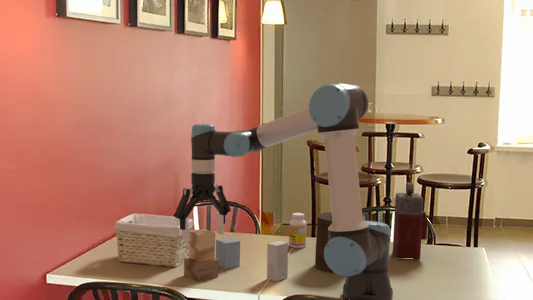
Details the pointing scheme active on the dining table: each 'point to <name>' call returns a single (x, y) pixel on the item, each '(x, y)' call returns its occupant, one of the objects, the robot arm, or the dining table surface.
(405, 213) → the red square decanter
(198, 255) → the oak block
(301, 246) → the supplement bottle
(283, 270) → the skincare box
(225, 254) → the blue block
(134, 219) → the storage basket
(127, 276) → the dining table surface
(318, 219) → the wooden container
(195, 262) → the base block
